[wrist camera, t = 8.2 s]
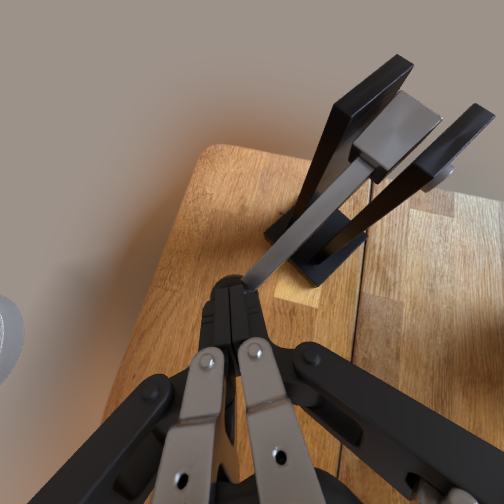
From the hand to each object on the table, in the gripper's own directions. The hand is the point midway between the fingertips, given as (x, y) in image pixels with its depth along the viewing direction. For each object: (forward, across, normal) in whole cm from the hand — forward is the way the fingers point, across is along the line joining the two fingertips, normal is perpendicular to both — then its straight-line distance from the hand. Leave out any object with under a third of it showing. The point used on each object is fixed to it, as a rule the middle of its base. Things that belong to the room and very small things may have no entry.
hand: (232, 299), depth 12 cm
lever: (+3, -5, -2) cm, 6 cm away
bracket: (+12, -9, +4) cm, 15 cm away
